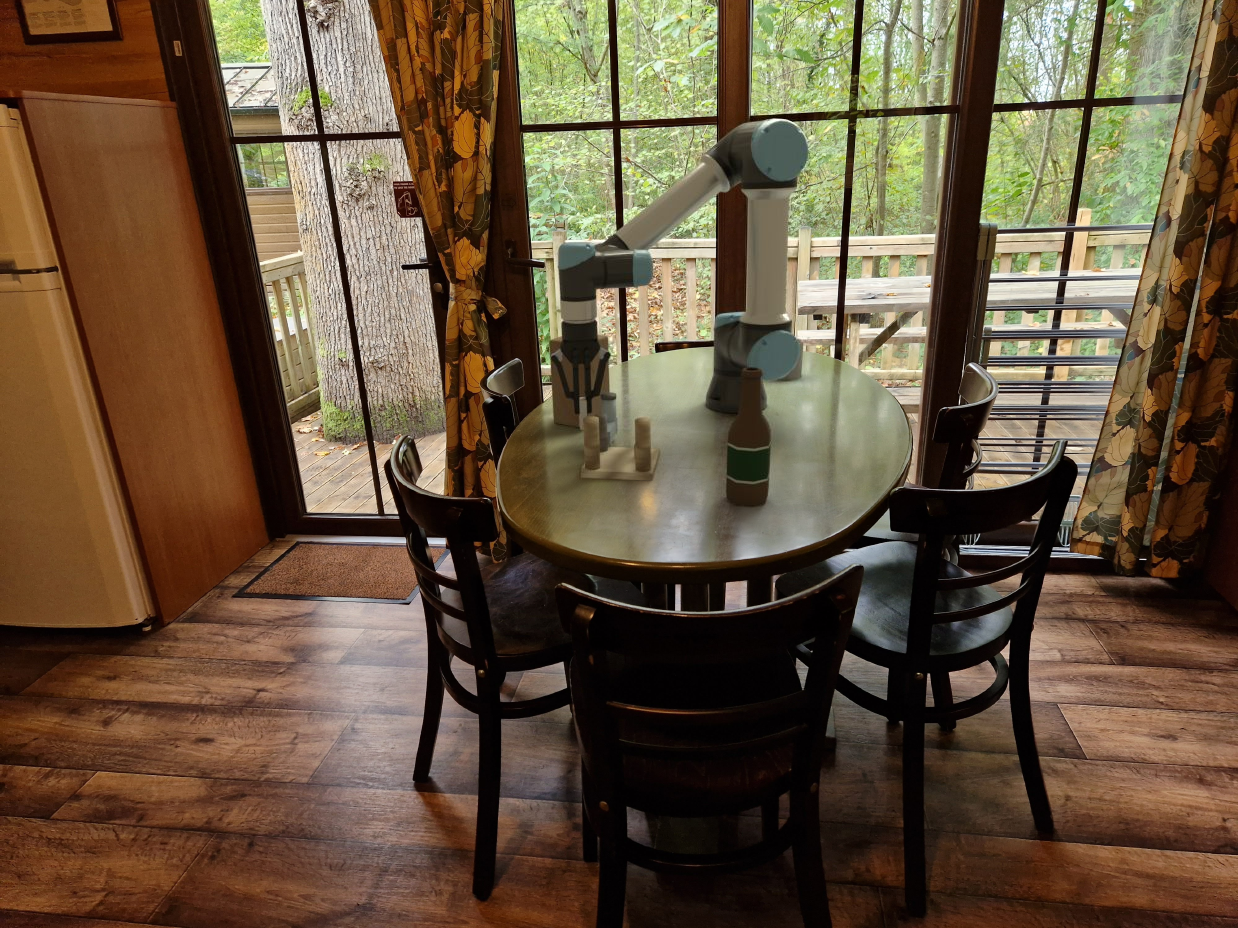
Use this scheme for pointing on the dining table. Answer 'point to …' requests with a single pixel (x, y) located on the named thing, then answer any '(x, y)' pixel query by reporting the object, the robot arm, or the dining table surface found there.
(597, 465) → the wooden twin post stand
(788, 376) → the coffee mug
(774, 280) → the robot arm
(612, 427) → the hinged leg
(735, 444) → the beer bottle
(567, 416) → the wooden block
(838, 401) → the dining table surface
